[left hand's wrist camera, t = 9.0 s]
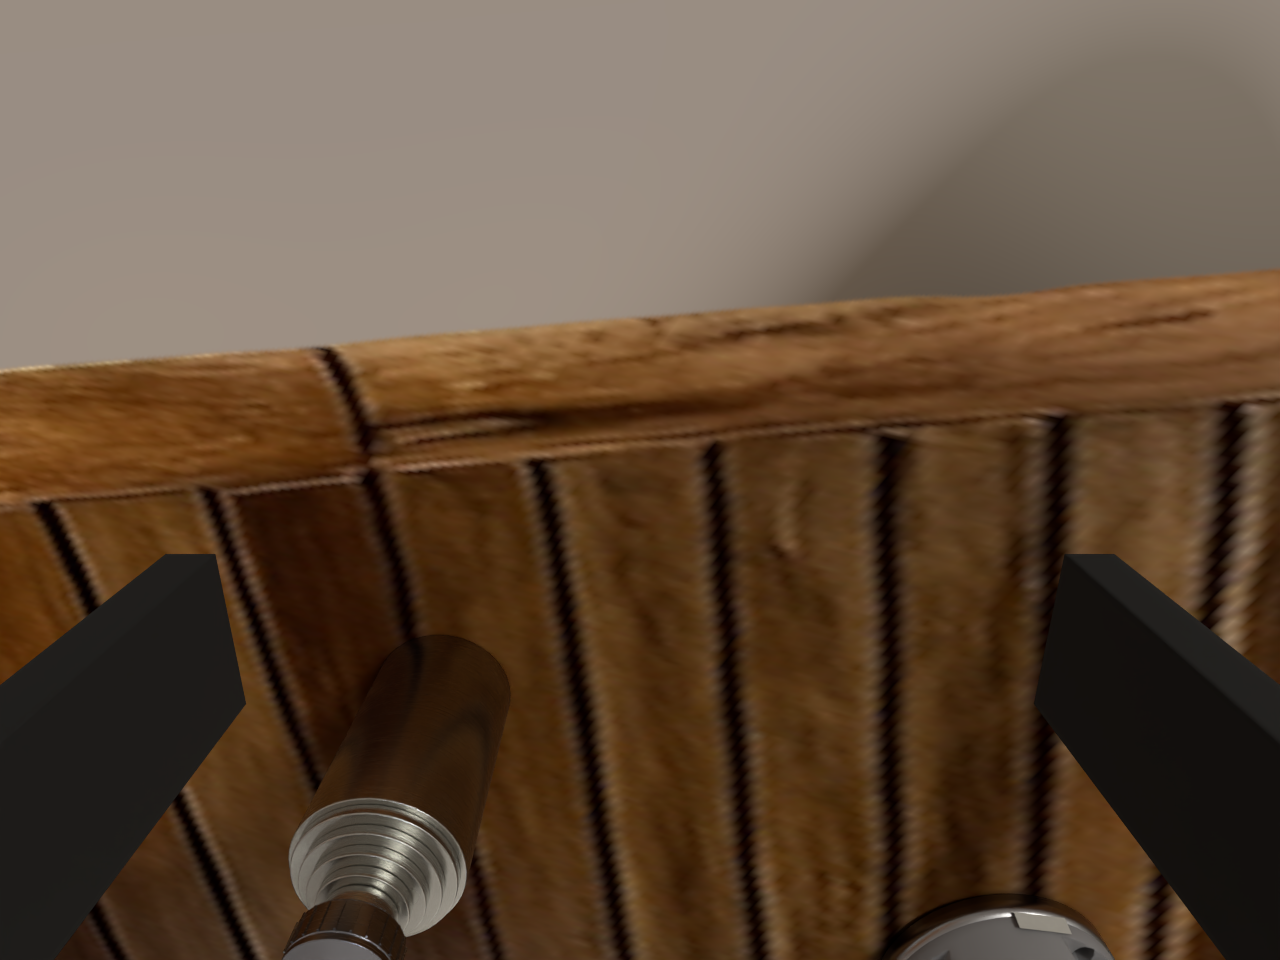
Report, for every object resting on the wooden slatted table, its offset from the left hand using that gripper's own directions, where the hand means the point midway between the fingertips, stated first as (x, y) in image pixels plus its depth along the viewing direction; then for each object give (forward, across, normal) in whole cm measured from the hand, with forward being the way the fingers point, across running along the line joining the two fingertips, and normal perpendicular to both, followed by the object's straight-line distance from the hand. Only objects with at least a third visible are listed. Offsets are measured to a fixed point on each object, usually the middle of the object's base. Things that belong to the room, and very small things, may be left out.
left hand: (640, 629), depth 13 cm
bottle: (+27, +11, +20) cm, 36 cm away
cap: (+10, +11, +20) cm, 25 cm away
